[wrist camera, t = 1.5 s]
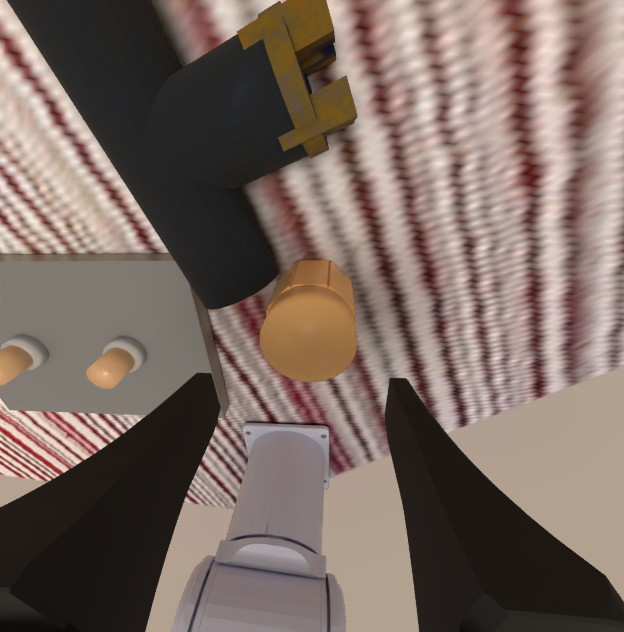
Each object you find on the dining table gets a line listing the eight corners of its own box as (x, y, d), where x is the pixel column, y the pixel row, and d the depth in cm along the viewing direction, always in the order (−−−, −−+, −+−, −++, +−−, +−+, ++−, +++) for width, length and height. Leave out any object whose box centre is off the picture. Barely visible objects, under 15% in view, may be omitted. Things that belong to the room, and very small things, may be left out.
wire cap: (349, 325, 21) (354, 383, 16) (282, 325, 21) (265, 380, 16) (352, 259, 19) (359, 302, 13) (276, 260, 19) (253, 301, 14)
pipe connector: (231, -356, 7) (394, 249, 13) (276, -150, 11) (381, 223, 18) (-65, -48, 10) (189, 320, 16) (66, 15, 14) (222, 282, 21)
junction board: (229, 404, 26) (210, 449, 22) (24, 397, 28) (-27, 438, 24) (193, 253, 19) (157, 279, 15) (-77, 254, 21) (-173, 279, 17)
